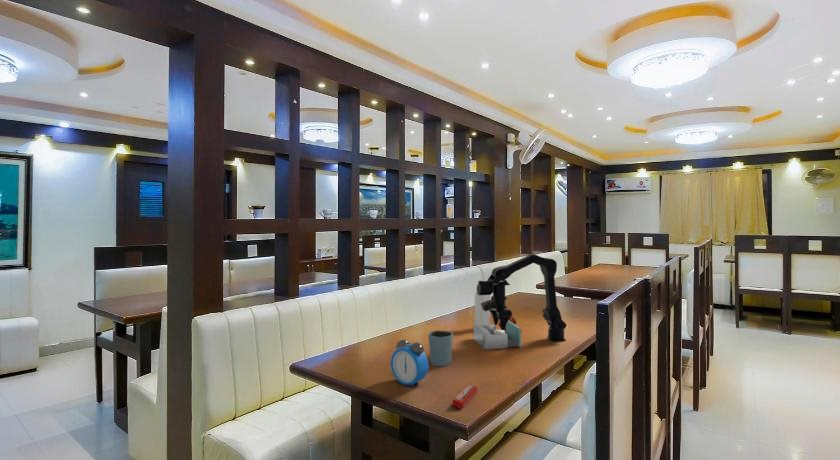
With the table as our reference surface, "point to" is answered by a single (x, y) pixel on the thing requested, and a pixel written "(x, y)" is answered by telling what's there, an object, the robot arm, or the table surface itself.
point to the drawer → (513, 335)
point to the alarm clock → (409, 363)
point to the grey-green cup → (440, 347)
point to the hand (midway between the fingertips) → (499, 327)
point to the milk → (481, 310)
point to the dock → (489, 337)
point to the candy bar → (464, 396)
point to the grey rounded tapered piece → (499, 331)
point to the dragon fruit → (510, 321)
